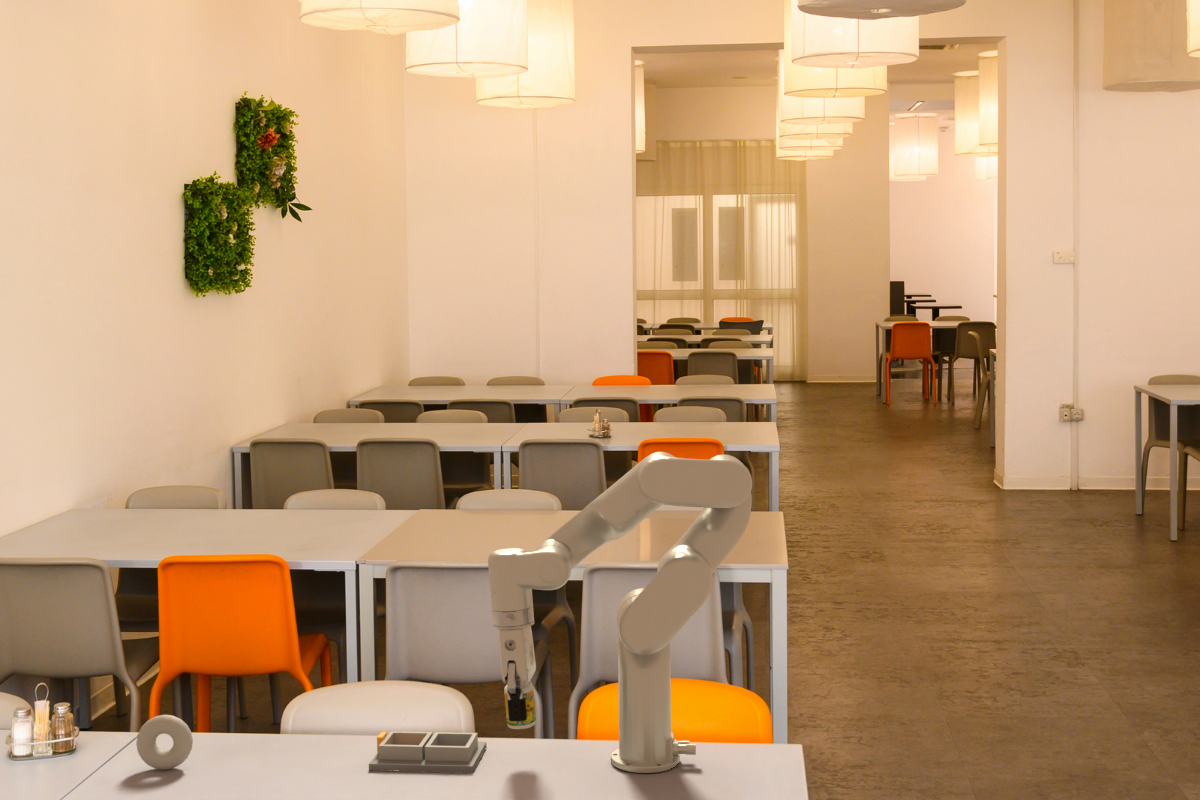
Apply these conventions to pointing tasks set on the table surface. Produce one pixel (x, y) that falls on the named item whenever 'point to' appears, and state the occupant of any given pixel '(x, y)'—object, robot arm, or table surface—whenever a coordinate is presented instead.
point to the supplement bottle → (529, 707)
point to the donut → (160, 757)
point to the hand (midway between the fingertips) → (520, 714)
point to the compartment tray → (427, 751)
